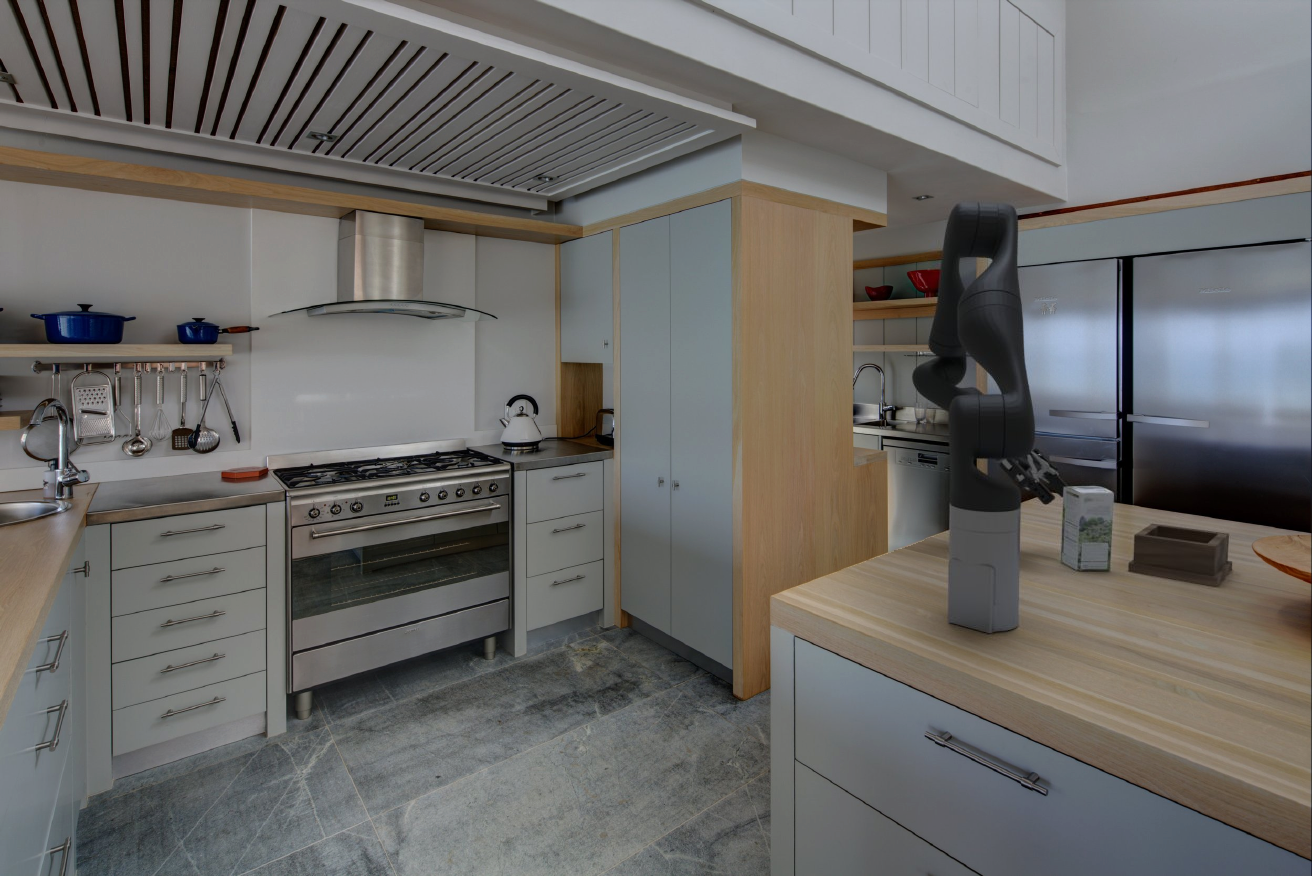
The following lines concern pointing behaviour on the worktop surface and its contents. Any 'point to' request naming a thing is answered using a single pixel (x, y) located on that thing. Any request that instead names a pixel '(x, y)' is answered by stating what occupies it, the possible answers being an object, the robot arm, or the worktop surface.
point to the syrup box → (1087, 528)
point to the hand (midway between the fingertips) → (1059, 498)
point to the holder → (1181, 554)
